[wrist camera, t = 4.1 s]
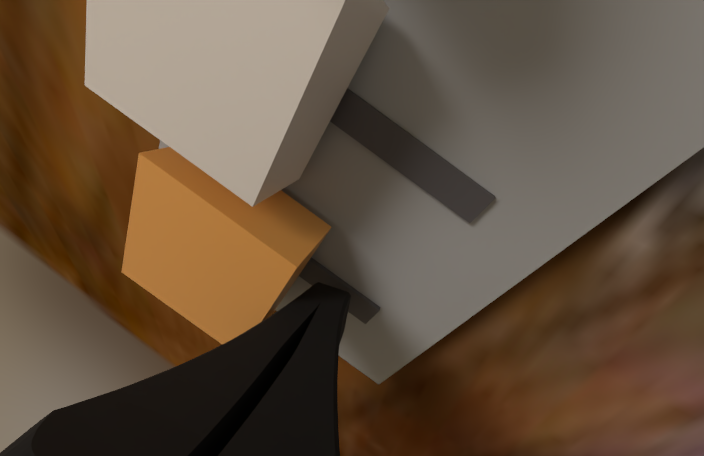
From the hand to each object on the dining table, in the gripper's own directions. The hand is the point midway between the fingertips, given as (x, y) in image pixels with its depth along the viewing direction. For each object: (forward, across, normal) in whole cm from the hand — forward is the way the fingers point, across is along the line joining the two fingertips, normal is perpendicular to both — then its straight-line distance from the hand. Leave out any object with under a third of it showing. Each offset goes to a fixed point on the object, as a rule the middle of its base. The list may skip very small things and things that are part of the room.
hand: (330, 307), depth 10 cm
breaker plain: (+1, +3, -8) cm, 8 cm away
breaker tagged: (0, +4, -2) cm, 4 cm away
